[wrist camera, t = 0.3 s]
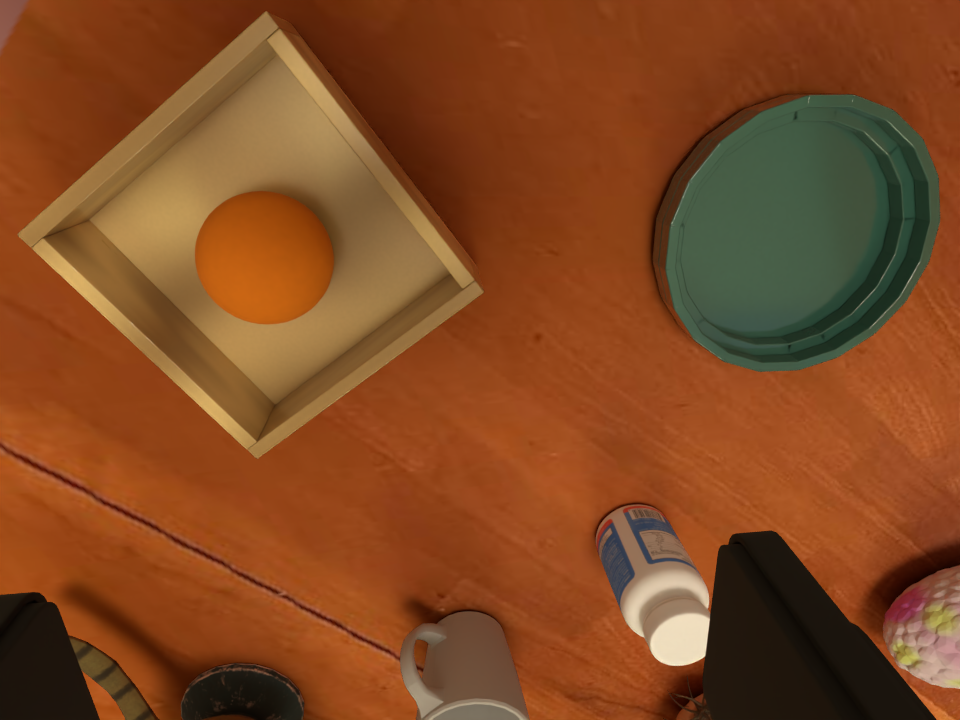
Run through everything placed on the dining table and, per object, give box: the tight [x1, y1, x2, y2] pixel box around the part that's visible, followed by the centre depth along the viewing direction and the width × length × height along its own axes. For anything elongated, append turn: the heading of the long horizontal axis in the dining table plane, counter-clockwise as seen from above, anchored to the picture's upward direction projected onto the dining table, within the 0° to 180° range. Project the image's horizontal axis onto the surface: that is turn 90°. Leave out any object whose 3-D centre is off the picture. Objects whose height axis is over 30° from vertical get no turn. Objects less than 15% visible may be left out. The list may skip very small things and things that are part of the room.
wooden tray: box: [17, 11, 484, 458], centre depth 33 cm, size 16×16×5 cm
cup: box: [400, 611, 530, 720], centre depth 44 cm, size 8×10×8 cm
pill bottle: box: [596, 504, 710, 666], centre depth 41 cm, size 6×5×10 cm
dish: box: [653, 94, 940, 372], centre depth 36 cm, size 15×15×3 cm
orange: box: [195, 191, 334, 325], centre depth 32 cm, size 7×7×7 cm
